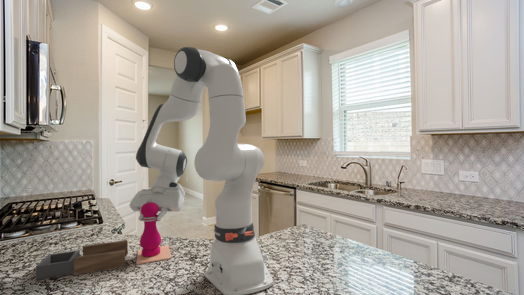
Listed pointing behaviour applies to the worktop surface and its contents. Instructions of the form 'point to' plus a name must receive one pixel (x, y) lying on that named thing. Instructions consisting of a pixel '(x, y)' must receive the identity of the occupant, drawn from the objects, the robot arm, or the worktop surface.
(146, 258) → the terracotta board
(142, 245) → the pepper mill
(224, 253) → the robot arm
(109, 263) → the walnut channel
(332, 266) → the worktop surface
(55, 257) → the box
